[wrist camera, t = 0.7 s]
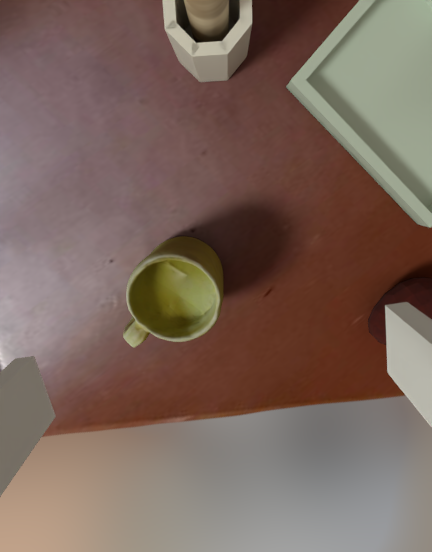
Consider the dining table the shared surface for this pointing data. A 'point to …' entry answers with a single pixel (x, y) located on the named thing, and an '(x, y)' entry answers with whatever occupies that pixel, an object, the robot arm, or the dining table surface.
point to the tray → (379, 96)
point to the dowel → (208, 19)
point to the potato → (415, 291)
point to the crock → (209, 55)
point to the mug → (175, 292)
